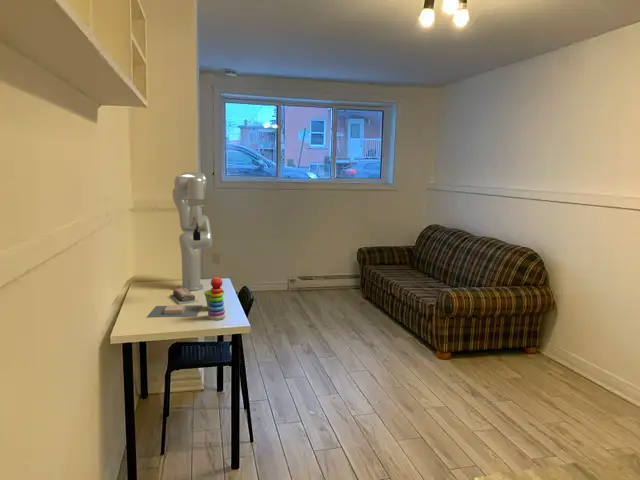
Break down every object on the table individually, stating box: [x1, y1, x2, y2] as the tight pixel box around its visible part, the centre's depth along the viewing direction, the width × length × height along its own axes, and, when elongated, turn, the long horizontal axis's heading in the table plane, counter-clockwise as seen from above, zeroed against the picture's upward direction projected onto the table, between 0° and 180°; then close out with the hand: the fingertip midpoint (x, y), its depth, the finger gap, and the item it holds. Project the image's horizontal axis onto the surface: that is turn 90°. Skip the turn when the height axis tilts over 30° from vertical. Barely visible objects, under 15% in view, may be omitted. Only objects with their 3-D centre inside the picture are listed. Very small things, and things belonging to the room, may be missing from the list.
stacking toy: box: [206, 276, 226, 321], centre depth 213 cm, size 8×8×19 cm
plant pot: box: [203, 289, 225, 311], centre depth 227 cm, size 9×9×9 cm
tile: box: [164, 304, 186, 315], centre depth 222 cm, size 2×8×8 cm
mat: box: [146, 304, 203, 319], centre depth 223 cm, size 18×22×1 cm
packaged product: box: [169, 287, 200, 305], centre depth 244 cm, size 18×5×10 cm
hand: (196, 240), depth 236 cm, fingers closed
